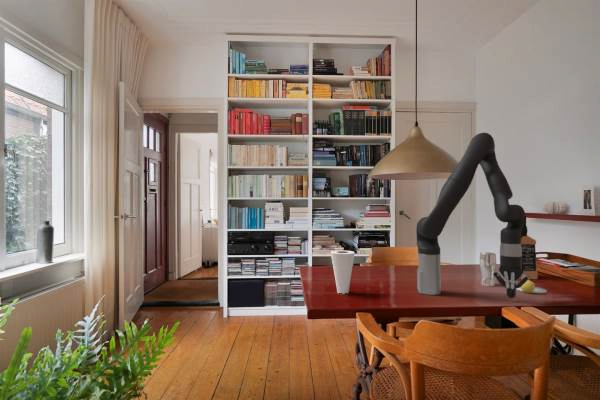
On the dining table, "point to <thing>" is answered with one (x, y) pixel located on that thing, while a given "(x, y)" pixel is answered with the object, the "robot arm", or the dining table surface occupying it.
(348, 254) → the cup
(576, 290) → the dining table surface
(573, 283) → the dining table surface
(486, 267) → the beer glass
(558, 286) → the dining table surface
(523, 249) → the whiskey bottle
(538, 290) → the disc
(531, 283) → the ball
